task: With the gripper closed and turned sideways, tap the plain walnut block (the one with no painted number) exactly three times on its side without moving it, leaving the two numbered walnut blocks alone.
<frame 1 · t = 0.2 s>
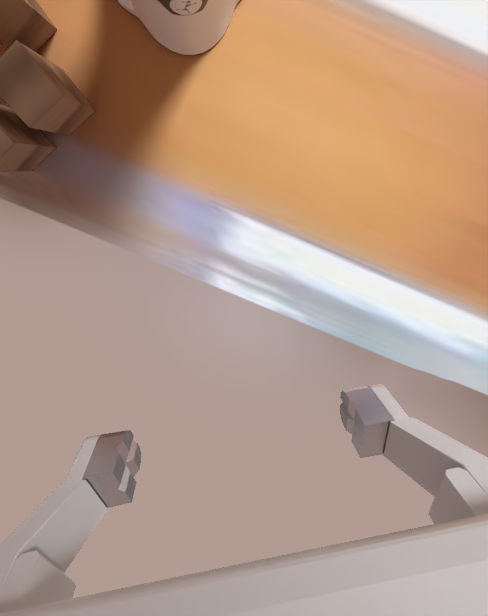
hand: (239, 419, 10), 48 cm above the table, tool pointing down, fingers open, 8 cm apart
walnut block numbered 1: (66, 104, 42), on the table
plain walnut block: (28, 142, 44), on the table
walnut block numbered 2: (24, 20, 38), on the table
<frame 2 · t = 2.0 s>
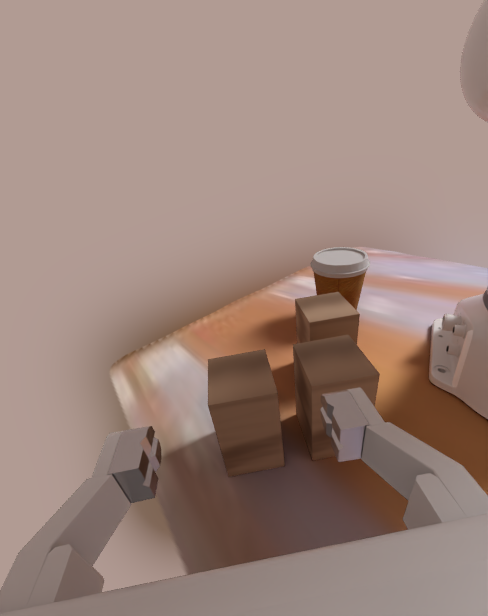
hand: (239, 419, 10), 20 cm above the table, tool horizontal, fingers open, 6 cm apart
walnut block numbered 1: (329, 430, 31), on the table
disposable coffee cup: (336, 316, 51), on the table
plain walnut block: (252, 445, 31), on the table
walnut block numbered 2: (323, 370, 40), on the table
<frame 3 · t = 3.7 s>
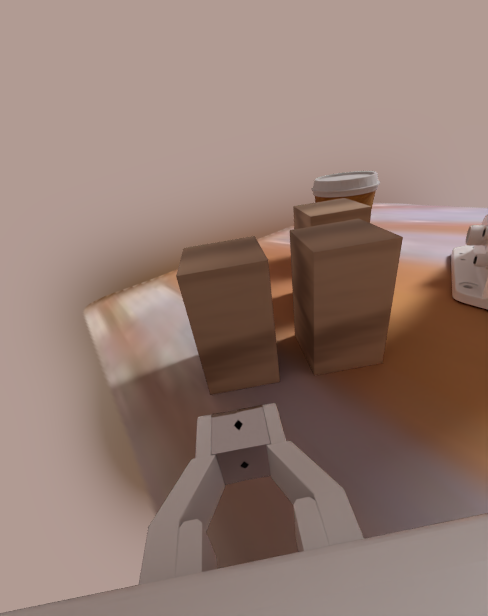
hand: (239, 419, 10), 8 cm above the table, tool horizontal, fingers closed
walnut block numbered 1: (334, 347, 26), on the table
disposable coffee cup: (341, 255, 46), on the table
plain walnut block: (241, 364, 26), on the table
walnut block numbered 2: (327, 297, 34), on the table
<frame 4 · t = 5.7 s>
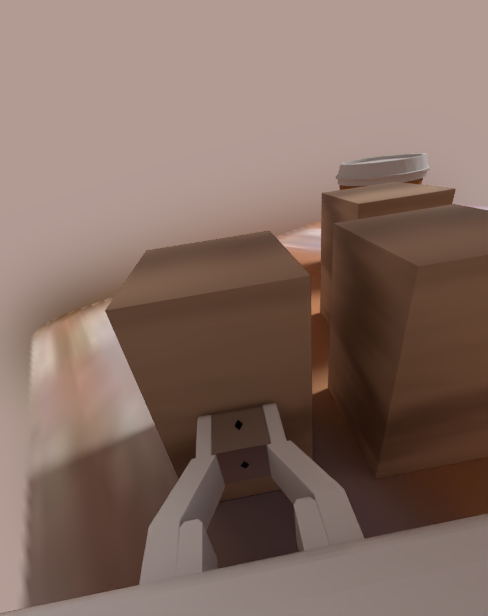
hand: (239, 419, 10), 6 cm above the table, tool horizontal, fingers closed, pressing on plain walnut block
walnut block numbered 1: (397, 416, 16), on the table
disposable coffee cup: (370, 262, 36), on the table
plain walnut block: (245, 439, 16), on the table, touching gripper
walnut block numbered 2: (365, 323, 24), on the table
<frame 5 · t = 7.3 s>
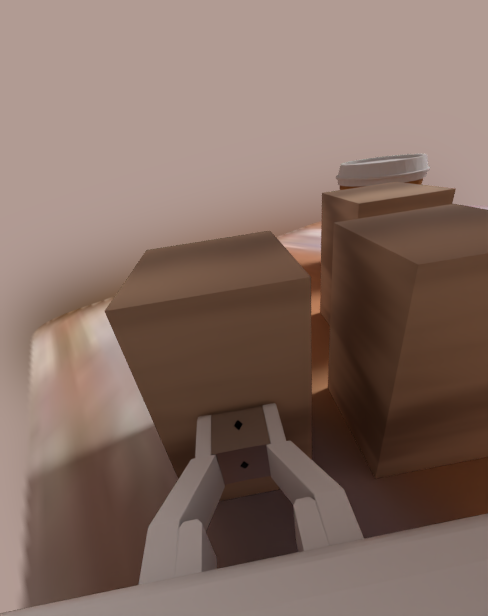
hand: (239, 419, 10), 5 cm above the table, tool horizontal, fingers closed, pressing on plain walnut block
walnut block numbered 1: (397, 416, 16), on the table
disposable coffee cup: (370, 263, 36), on the table
plain walnut block: (244, 439, 16), on the table, touching gripper
walnut block numbered 2: (365, 323, 24), on the table
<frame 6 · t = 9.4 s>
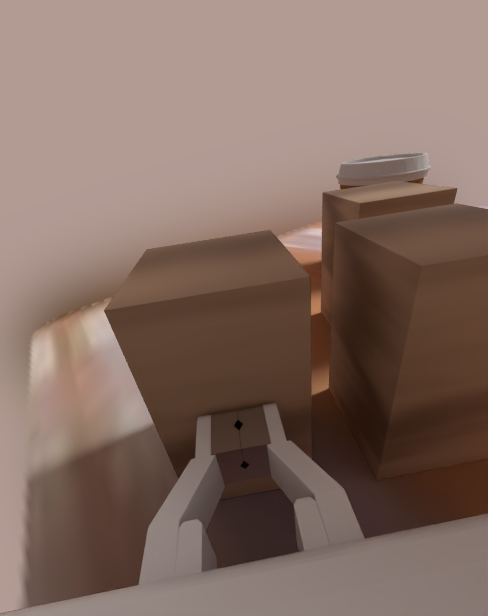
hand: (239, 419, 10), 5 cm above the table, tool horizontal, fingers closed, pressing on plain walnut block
walnut block numbered 1: (398, 417, 16), on the table
disposable coffee cup: (370, 262, 36), on the table
plain walnut block: (244, 438, 16), on the table, touching gripper
walnut block numbered 2: (365, 323, 24), on the table
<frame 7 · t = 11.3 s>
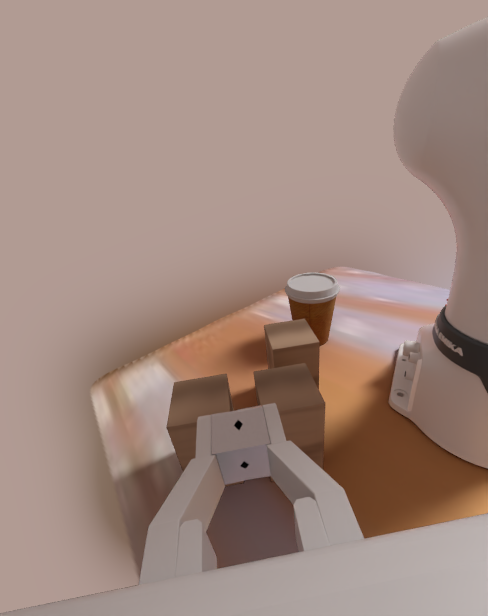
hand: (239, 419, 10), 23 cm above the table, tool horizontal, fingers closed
walnut block numbered 1: (290, 452, 33), on the table
disposable coffee cup: (311, 338, 54), on the table
plain walnut block: (216, 462, 33), on the table
walnut block numbered 2: (292, 392, 42), on the table
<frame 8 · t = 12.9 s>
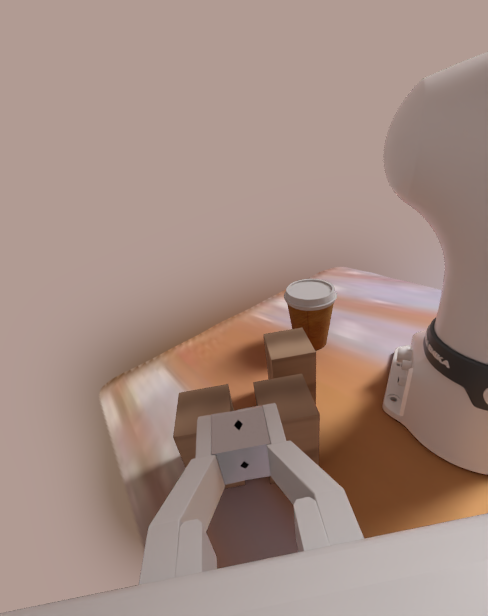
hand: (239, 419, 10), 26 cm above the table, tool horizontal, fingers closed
walnut block numbered 1: (288, 455, 35), on the table
disposable coffee cup: (310, 341, 56), on the table
plain walnut block: (220, 465, 36), on the table
walnut block numbered 2: (291, 396, 44), on the table
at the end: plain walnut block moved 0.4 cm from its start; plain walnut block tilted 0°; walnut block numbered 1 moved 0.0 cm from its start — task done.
